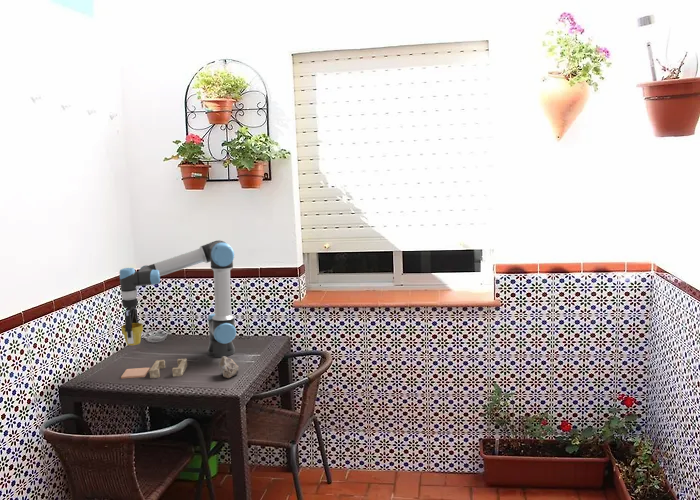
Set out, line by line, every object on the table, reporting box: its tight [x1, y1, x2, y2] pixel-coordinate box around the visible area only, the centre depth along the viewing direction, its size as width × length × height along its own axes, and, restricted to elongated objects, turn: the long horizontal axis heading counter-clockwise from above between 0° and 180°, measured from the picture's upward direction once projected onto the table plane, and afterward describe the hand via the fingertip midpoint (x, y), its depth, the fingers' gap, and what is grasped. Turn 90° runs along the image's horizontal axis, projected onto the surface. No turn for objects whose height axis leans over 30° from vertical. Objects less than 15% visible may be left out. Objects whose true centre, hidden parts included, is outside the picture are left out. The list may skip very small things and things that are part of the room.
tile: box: [120, 367, 151, 379], centre depth 342 cm, size 12×12×1 cm
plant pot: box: [121, 322, 144, 346], centre depth 339 cm, size 10×10×10 cm
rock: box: [218, 356, 240, 379], centre depth 332 cm, size 9×12×10 cm
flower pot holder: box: [148, 358, 188, 379], centre depth 343 cm, size 16×16×4 cm
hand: (133, 340), depth 340 cm, fingers closed on plant pot, 10 cm apart
